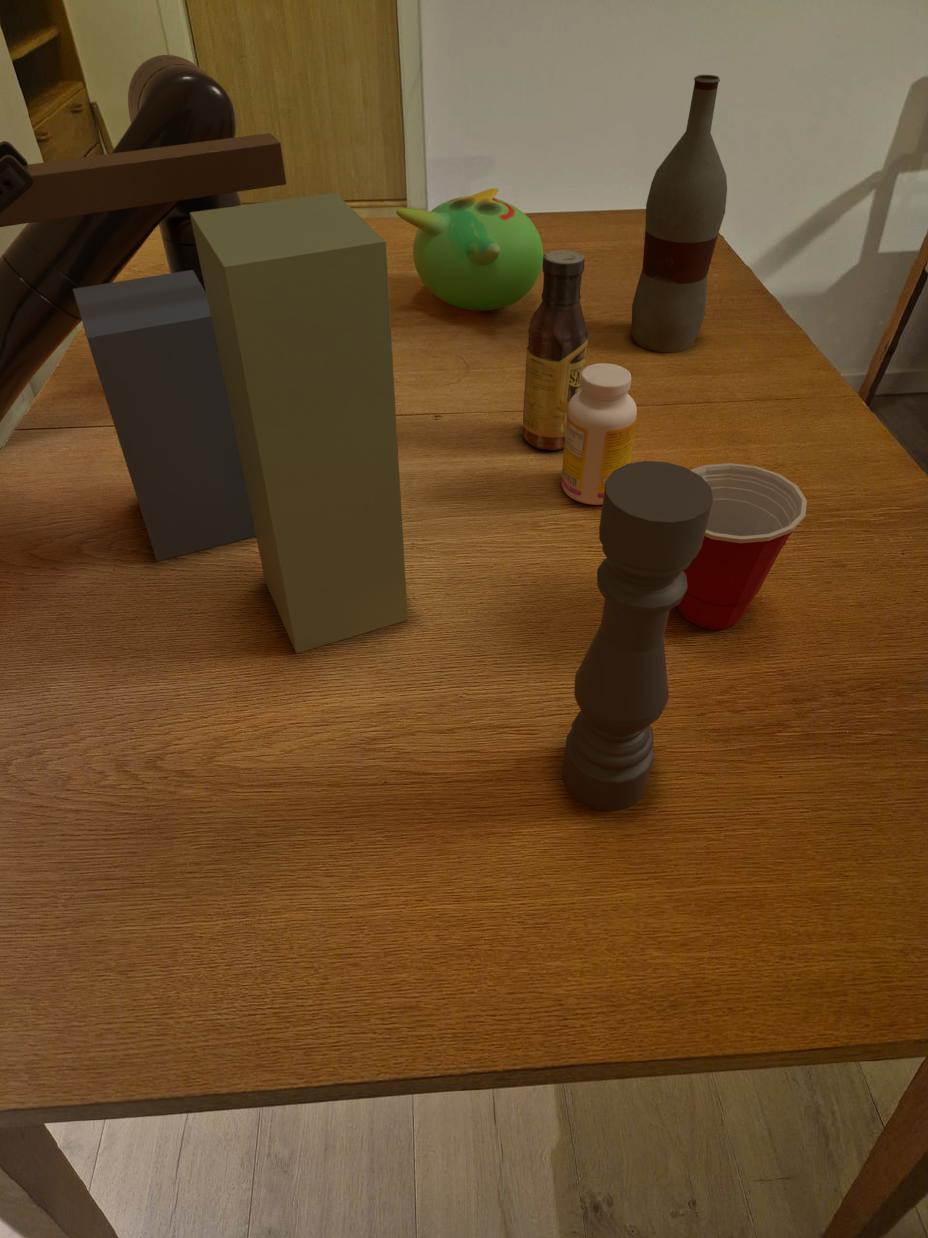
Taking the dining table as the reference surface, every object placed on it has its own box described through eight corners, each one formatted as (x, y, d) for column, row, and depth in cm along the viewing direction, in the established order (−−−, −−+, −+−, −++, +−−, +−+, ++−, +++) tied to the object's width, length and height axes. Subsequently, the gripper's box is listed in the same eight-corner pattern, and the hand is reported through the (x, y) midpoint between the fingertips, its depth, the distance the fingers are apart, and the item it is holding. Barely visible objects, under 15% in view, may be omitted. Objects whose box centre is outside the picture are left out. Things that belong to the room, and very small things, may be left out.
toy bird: (559, 298, 124) (568, 188, 114) (499, 343, 113) (502, 226, 103) (454, 271, 131) (453, 166, 121) (388, 311, 120) (381, 199, 110)
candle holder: (555, 744, 65) (589, 460, 48) (636, 739, 65) (699, 455, 48) (569, 814, 60) (613, 528, 43) (656, 808, 61) (733, 522, 44)
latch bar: (-44, 233, 61) (-63, 188, 59) (-45, 220, 63) (-63, 175, 61) (286, 184, 68) (280, 142, 66) (276, 173, 70) (270, 132, 68)
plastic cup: (670, 553, 82) (693, 443, 73) (784, 592, 78) (822, 480, 69) (625, 622, 75) (645, 509, 67) (748, 668, 71) (786, 553, 63)
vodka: (690, 323, 118) (739, 67, 97) (706, 354, 111) (761, 86, 91) (622, 324, 118) (656, 67, 97) (634, 355, 111) (673, 87, 90)
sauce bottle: (574, 456, 94) (593, 272, 80) (517, 449, 95) (527, 267, 81) (580, 425, 98) (599, 247, 85) (526, 419, 99) (536, 242, 86)
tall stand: (296, 653, 72) (223, 266, 50) (265, 582, 78) (189, 212, 57) (408, 620, 75) (386, 240, 53) (369, 553, 81) (335, 192, 60)
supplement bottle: (630, 477, 91) (649, 364, 82) (617, 513, 86) (635, 396, 77) (568, 466, 92) (580, 353, 84) (553, 500, 88) (563, 384, 79)
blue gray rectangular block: (156, 561, 81) (86, 337, 65) (139, 504, 87) (72, 288, 72) (262, 534, 84) (218, 314, 68) (237, 481, 90) (192, 269, 75)
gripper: (-108, 315, 70) (53, 177, 68) (-113, 395, 60) (74, 236, 59) (-204, 239, 64) (-30, 87, 63) (-225, 313, 55) (-22, 136, 53)
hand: (19, 160), depth 61 cm, fingers closed on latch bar, 3 cm apart
